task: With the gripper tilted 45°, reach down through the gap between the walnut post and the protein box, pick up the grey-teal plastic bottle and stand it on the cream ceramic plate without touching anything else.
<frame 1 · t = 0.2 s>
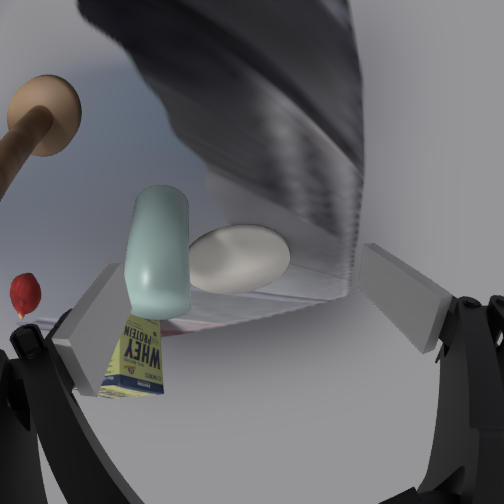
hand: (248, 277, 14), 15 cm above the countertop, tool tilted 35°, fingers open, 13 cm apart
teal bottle: (161, 206, 29), on the countertop
protein box: (115, 313, 47), on the countertop
walnut post: (45, 114, 17), on the countertop
cream plate: (236, 261, 39), on the countertop
red fruit: (30, 272, 33), on the countertop
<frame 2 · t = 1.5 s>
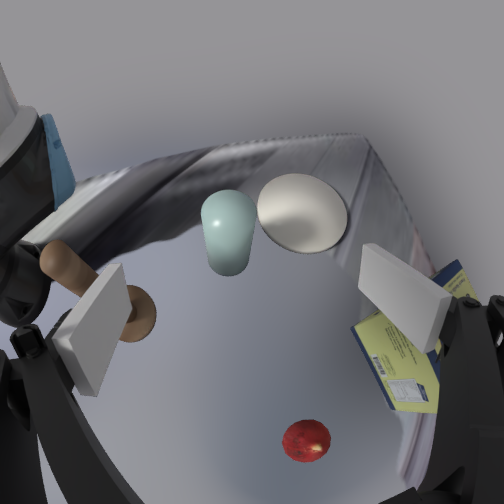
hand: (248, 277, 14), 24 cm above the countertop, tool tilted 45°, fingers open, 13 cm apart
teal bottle: (228, 256, 40), on the countertop
protein box: (394, 353, 36), on the countertop
walnut post: (129, 314, 35), on the countertop
cream plate: (302, 212, 45), on the countertop
red fruit: (298, 434, 30), on the countertop
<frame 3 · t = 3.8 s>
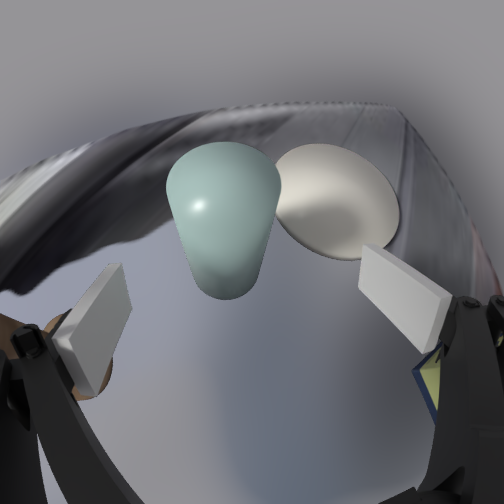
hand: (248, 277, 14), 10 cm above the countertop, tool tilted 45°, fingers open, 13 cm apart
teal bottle: (225, 267, 25), on the countertop
protein box: (460, 394, 20), on the countertop
walnut post: (75, 357, 20), on the countertop
cream plate: (336, 198, 29), on the countertop
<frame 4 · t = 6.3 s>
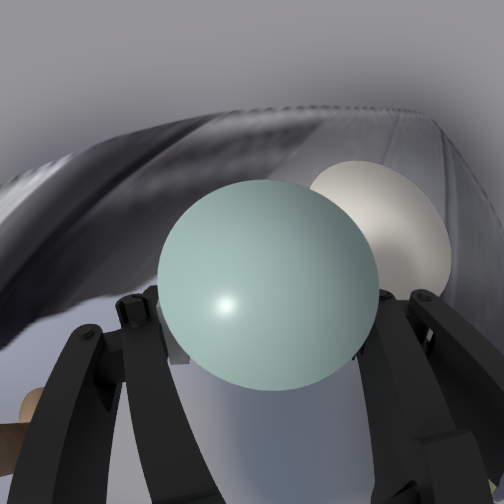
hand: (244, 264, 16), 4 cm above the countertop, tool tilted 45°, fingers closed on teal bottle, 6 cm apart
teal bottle: (247, 336, 18), on the countertop, touching gripper
walnut post: (63, 437, 13), on the countertop
cream plate: (382, 233, 22), on the countertop
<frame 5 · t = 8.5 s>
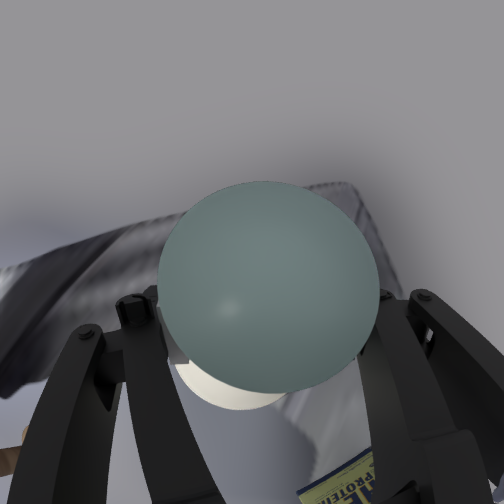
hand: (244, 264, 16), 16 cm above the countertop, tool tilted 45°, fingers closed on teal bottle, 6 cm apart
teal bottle: (247, 337, 18), point 12 cm above the countertop, touching gripper
walnut post: (47, 451, 20), on the countertop
cream plate: (240, 343, 29), on the countertop
when the fingers open (6 cm above the countertop, at t = 10.7 s): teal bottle drops 1 cm, resting on cream plate.
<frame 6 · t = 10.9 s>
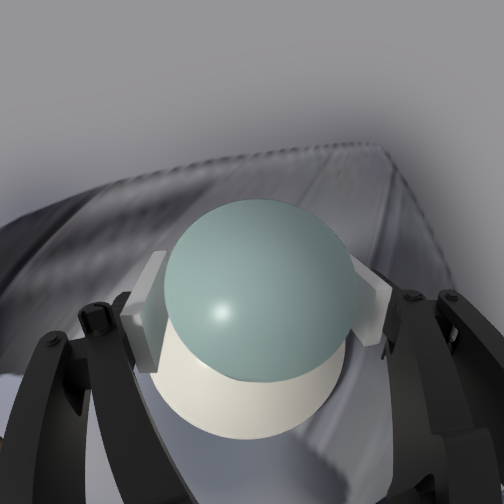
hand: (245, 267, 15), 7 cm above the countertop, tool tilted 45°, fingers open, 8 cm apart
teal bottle: (246, 340, 19), point 1 cm above the countertop, touching cream plate
cream plate: (245, 341, 20), on the countertop
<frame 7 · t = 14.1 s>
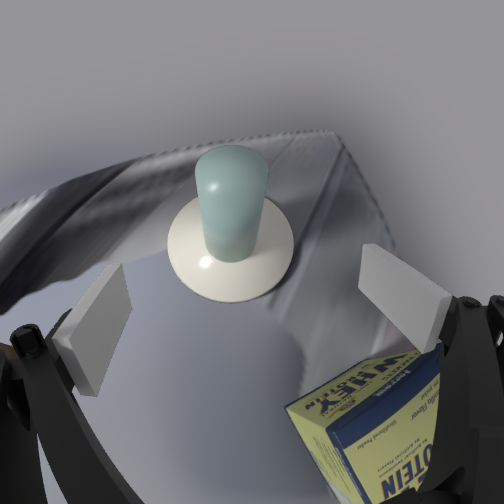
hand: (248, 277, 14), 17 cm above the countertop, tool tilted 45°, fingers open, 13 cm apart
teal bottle: (230, 239, 32), point 1 cm above the countertop, touching cream plate
protein box: (349, 435, 25), on the countertop
cream plate: (230, 243, 33), on the countertop
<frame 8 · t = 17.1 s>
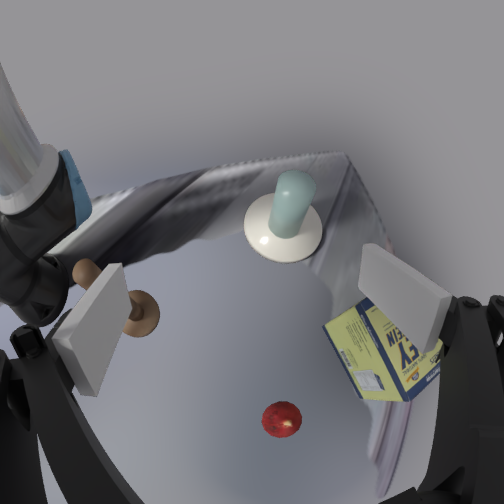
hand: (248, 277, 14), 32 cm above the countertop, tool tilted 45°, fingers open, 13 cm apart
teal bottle: (284, 224, 52), point 1 cm above the countertop, touching cream plate
protein box: (363, 349, 44), on the countertop
walnut post: (137, 314, 43), on the countertop
cream plate: (283, 227, 53), on the countertop
red fruit: (277, 416, 38), on the countertop
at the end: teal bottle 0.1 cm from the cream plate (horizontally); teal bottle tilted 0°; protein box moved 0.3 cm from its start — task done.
